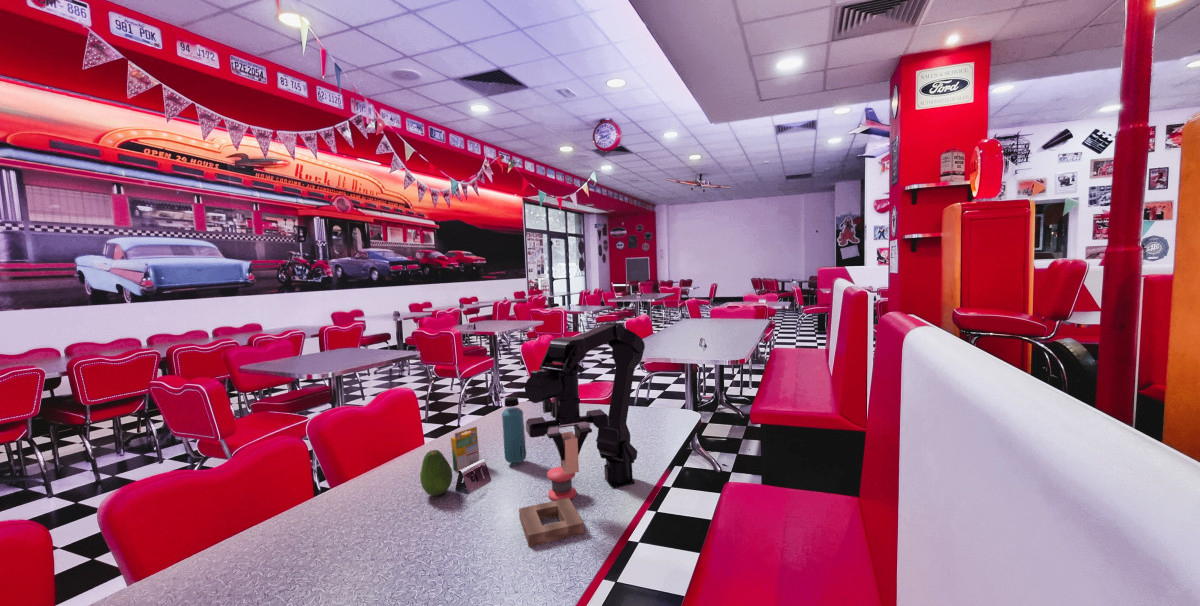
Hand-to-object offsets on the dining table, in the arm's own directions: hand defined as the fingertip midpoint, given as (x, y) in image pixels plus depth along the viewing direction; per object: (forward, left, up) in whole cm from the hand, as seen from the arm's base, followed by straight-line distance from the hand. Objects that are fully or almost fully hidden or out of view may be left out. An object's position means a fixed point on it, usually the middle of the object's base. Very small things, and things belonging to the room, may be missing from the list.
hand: (569, 458), depth 111 cm
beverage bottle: (+8, -34, -13) cm, 37 cm away
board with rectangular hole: (+6, +4, -13) cm, 15 cm away
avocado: (+30, -23, -13) cm, 40 cm away
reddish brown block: (0, 0, -3) cm, 3 cm away
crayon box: (+22, -38, -13) cm, 46 cm away
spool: (0, -9, -13) cm, 16 cm away
